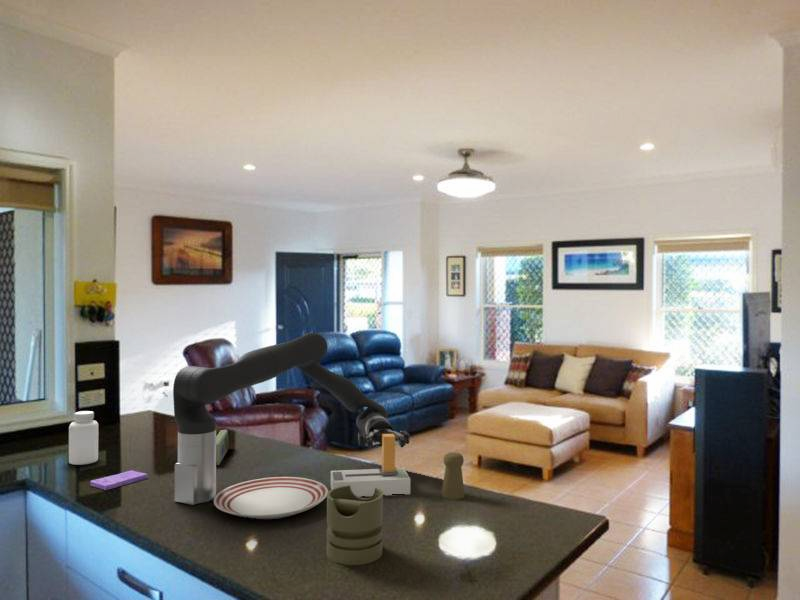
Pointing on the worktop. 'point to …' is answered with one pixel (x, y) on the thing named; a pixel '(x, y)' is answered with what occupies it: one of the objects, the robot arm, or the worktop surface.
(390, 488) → the box
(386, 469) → the handle
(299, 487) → the dinner plate
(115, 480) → the sponges
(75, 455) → the pill bottle
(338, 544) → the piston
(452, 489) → the olive pawn figure
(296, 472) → the worktop surface
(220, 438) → the handheld radio
